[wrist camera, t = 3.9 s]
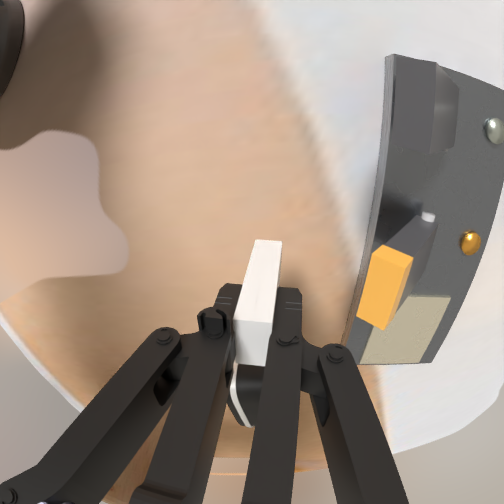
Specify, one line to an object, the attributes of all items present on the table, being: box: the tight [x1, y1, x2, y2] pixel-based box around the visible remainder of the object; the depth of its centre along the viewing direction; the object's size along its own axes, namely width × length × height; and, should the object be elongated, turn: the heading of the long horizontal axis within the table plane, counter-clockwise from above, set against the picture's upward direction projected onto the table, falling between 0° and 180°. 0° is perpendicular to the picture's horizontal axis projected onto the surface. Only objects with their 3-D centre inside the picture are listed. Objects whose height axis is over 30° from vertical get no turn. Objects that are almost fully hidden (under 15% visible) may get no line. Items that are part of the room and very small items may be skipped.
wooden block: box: [101, 406, 171, 504], centre depth 34 cm, size 10×10×20 cm
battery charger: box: [227, 360, 265, 427], centre depth 23 cm, size 7×4×11 cm, turn 12°
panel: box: [340, 54, 504, 365], centre depth 21 cm, size 11×28×2 cm, turn 0°
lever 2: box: [356, 211, 439, 331], centre depth 17 cm, size 2×5×8 cm
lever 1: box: [391, 57, 459, 155], centre depth 12 cm, size 2×5×8 cm
